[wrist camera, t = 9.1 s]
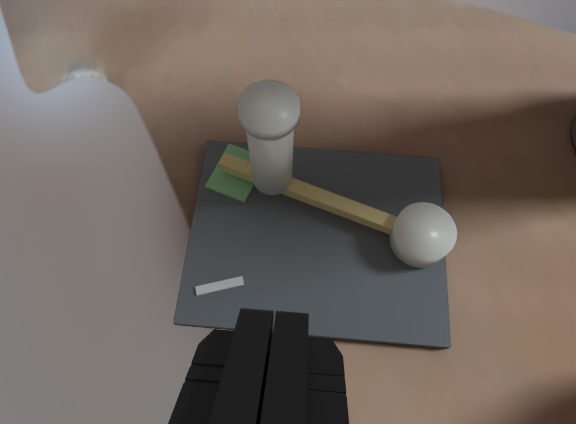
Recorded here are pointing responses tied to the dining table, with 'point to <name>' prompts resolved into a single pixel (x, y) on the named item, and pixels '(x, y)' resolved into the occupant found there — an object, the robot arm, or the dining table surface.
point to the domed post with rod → (278, 179)
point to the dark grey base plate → (314, 250)
